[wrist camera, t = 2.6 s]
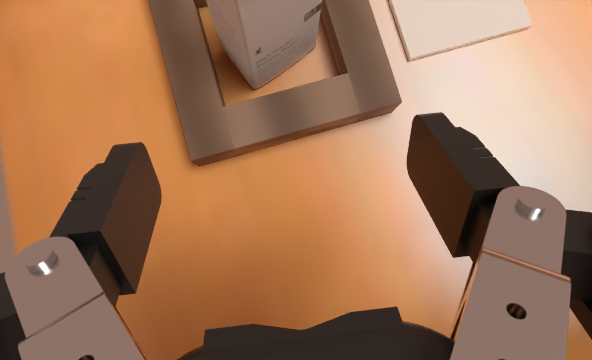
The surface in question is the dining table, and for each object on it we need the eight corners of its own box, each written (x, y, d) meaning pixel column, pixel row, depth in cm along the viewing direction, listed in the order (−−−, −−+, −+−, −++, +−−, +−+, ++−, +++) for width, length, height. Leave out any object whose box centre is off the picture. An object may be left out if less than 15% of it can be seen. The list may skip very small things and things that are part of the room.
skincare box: (256, 93, 28) (232, -2, 16) (220, 48, 29) (171, -77, 17) (319, 46, 29) (342, -80, 17) (283, 2, 29) (281, -152, 17)
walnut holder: (334, -64, 30) (339, -90, 27) (391, 112, 28) (401, 101, 26) (150, -18, 29) (137, -40, 26) (199, 166, 28) (191, 160, 25)
